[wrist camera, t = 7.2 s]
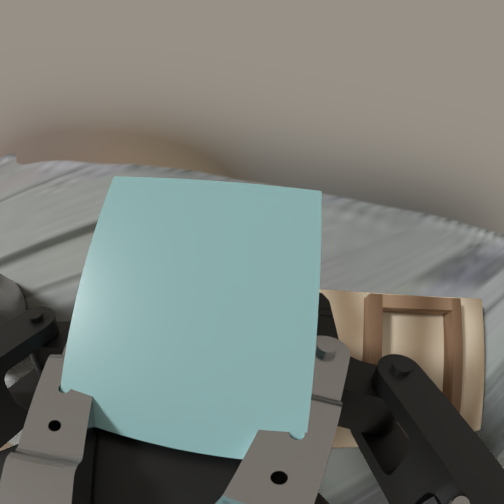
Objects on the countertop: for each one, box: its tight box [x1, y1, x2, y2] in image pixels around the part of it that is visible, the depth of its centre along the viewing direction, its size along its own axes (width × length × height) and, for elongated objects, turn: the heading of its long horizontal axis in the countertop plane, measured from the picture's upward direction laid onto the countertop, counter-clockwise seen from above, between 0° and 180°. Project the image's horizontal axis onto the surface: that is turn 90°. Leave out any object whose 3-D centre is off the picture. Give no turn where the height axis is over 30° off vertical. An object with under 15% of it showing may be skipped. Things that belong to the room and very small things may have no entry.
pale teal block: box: [60, 177, 321, 459], centre depth 10 cm, size 4×5×11 cm
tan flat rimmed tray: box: [319, 289, 484, 448], centre depth 21 cm, size 16×12×4 cm
